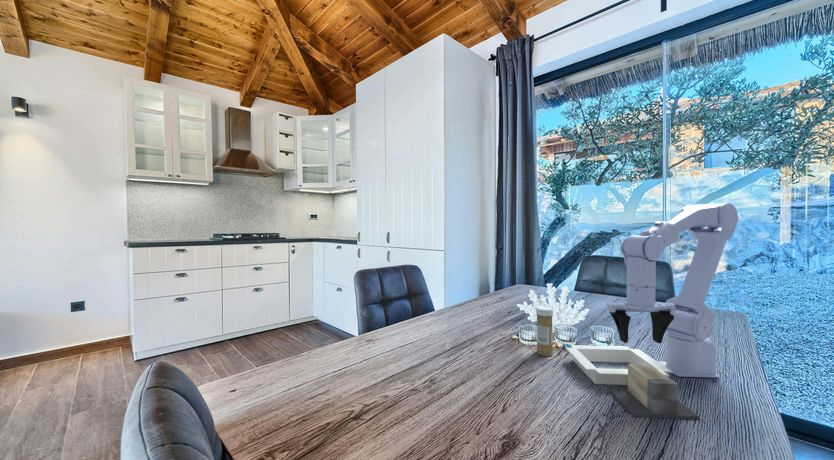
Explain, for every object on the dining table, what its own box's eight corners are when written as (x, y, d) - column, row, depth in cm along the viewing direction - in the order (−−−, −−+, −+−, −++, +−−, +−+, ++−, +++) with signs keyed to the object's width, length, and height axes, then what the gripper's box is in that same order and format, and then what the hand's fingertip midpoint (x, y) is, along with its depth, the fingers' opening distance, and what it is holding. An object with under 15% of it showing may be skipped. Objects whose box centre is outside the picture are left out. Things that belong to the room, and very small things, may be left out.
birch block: (648, 390, 73) (649, 363, 73) (677, 414, 64) (678, 383, 64) (627, 390, 73) (627, 363, 73) (652, 413, 64) (653, 383, 64)
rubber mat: (667, 394, 72) (667, 391, 72) (698, 419, 63) (698, 416, 63) (610, 392, 73) (610, 390, 73) (633, 416, 64) (633, 413, 64)
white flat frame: (634, 358, 91) (634, 346, 91) (678, 390, 74) (678, 375, 74) (563, 357, 93) (563, 344, 93) (590, 387, 76) (590, 373, 75)
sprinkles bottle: (556, 354, 95) (556, 308, 94) (546, 357, 92) (546, 310, 92) (542, 349, 99) (542, 304, 98) (532, 352, 96) (532, 307, 96)
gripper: (618, 288, 75) (617, 347, 75) (685, 289, 74) (684, 348, 74) (603, 282, 82) (602, 336, 82) (664, 283, 81) (663, 337, 81)
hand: (640, 341), depth 79 cm, fingers open, 7 cm apart
